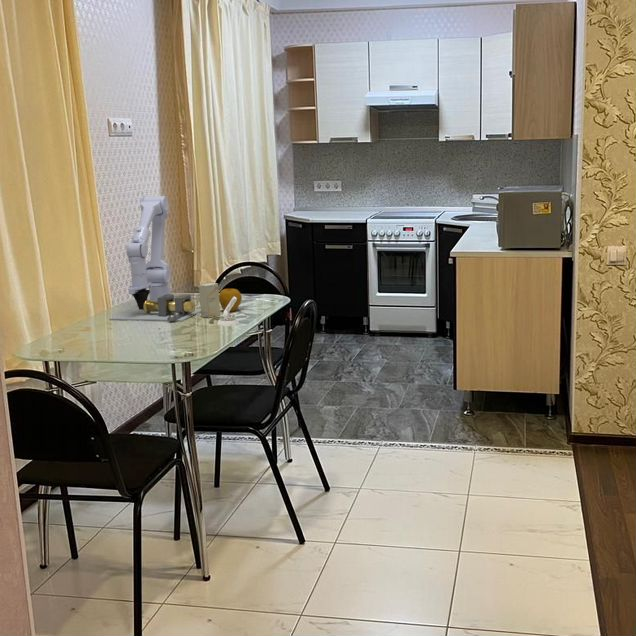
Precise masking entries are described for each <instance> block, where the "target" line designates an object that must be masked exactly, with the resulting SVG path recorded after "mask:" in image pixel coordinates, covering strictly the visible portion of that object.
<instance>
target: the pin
mask: <svg viewBox="0 0 636 636" xmlns="http://www.w3.org/2000/svg"><path fill="white" fill-rule="evenodd" d="M166 305H167V312H175V300H174V301H166ZM183 305H184V312H194V311H195V310H196V303H195V301H191V302H183ZM143 307H144V311H145V313H150V312H159V311H158V301H150V299H147V300H145V302H144V306H143Z"/></svg>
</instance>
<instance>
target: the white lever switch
mask: <svg viewBox="0 0 636 636" xmlns="http://www.w3.org/2000/svg"><path fill="white" fill-rule="evenodd" d="M236 300H237V298H236V297H235V296H234V297H233V298H232V299H231V301H230V303H229V304H228V306H227V307H226V309H225V310H224V309H223V314H222V313H221V314H222V318H220V319H218V321H217V324H218V325H217V326H219V325H221V326H220V327H232V326H237V325H238V324H240V322H239V320H238V318H236V317H231V314H230V312H229V311H230V310H231V308H232V307H233V305H234V303H235V302H236Z"/></svg>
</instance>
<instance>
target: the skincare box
mask: <svg viewBox="0 0 636 636" xmlns="http://www.w3.org/2000/svg"><path fill="white" fill-rule="evenodd" d="M198 291H199V292H198V293H199V302H200V310H201V313H200V317H201V318H205V317H208V318H207V319H210V317H211V318H215V317H219V316H221V304H220V301H219V294H220V291H219V283H217V282H215V283H214V282H207V283H204V284H203V283H202V284H199V285H198ZM218 315H219V316H218ZM214 316H215V317H214Z"/></svg>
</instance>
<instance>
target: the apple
mask: <svg viewBox="0 0 636 636" xmlns="http://www.w3.org/2000/svg"><path fill="white" fill-rule="evenodd" d="M234 296H235V297H236V298H237V300H236V302H235V303H234V305H233V307H232V308H231V310H230V311H229V313H230V312H231V313H232V311H233V312H235V311H236V310H237V309H238V308H239V306H240V305H241V302H242V299H243V297H242V294H241V292H240V291H239V290H238V289H237V288H224V289H221V291H219V303H220V307H221V308H222V309H223V311H224V310H225V309H226V307H227V306H228V304H229V303H230V301H231V299H232V298H233V297H234Z"/></svg>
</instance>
